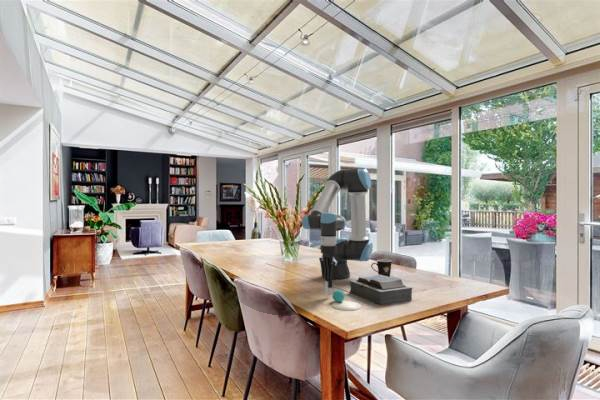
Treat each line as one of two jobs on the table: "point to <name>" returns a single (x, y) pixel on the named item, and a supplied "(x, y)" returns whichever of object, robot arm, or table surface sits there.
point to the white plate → (346, 305)
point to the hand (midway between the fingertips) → (328, 294)
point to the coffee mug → (383, 267)
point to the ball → (338, 296)
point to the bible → (381, 289)
